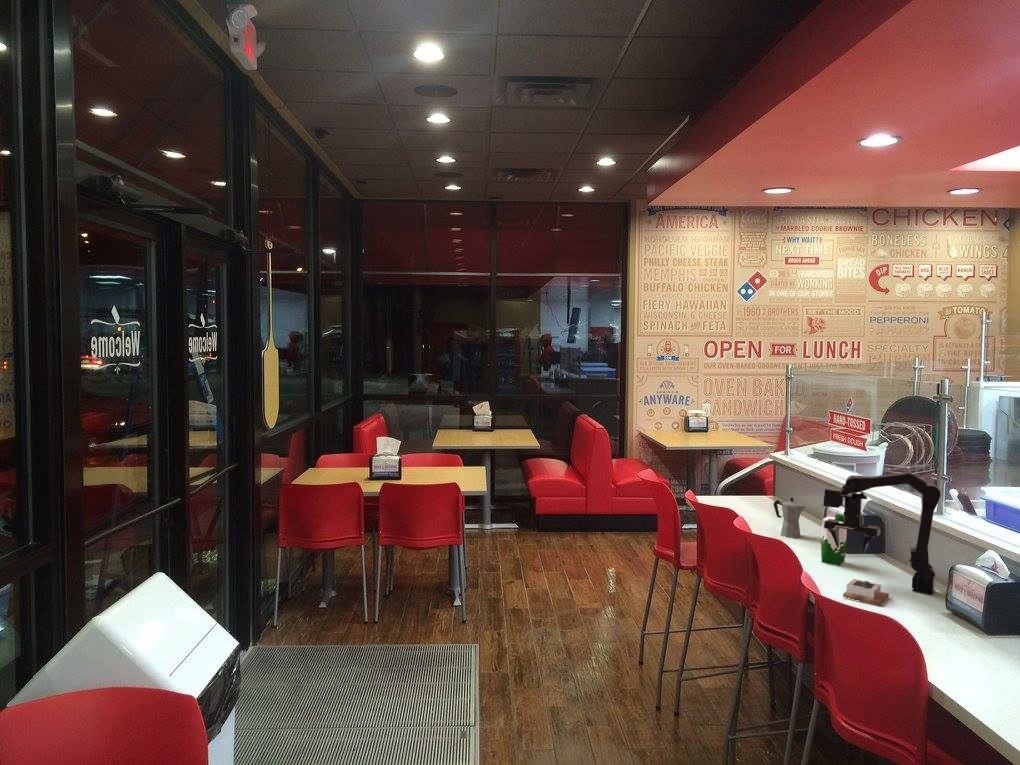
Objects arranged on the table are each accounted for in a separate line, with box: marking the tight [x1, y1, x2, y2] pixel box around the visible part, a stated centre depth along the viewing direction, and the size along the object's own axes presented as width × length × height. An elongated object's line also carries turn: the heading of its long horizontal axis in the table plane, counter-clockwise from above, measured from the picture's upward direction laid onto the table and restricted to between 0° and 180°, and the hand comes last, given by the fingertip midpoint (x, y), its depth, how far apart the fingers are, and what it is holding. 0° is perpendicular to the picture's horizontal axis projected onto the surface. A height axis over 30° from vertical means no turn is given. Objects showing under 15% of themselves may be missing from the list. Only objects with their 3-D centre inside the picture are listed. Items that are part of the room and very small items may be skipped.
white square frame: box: [845, 578, 882, 599], centre depth 259 cm, size 9×9×3 cm
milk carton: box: [820, 513, 848, 567], centre depth 299 cm, size 9×9×20 cm
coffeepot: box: [773, 497, 807, 539], centre depth 341 cm, size 15×9×18 cm, turn 44°
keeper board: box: [842, 580, 890, 607], centre depth 258 cm, size 12×12×6 cm
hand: (850, 549), depth 276 cm, fingers open, 9 cm apart
